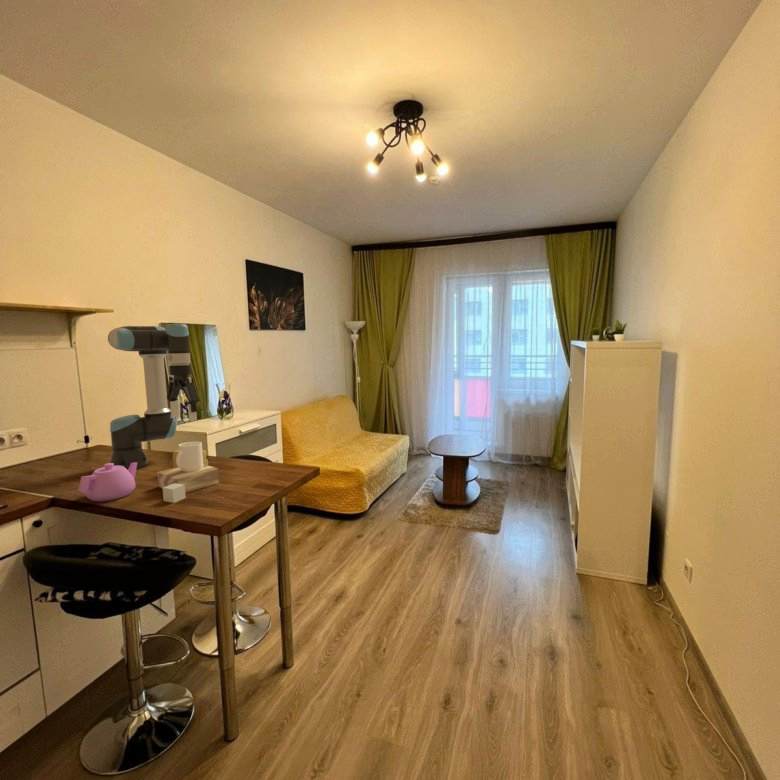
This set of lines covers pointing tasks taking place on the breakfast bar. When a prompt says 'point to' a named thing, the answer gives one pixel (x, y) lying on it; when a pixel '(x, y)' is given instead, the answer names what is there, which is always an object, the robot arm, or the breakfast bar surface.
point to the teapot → (109, 482)
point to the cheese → (178, 452)
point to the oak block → (189, 478)
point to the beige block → (174, 492)
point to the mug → (190, 456)
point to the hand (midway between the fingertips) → (183, 419)
